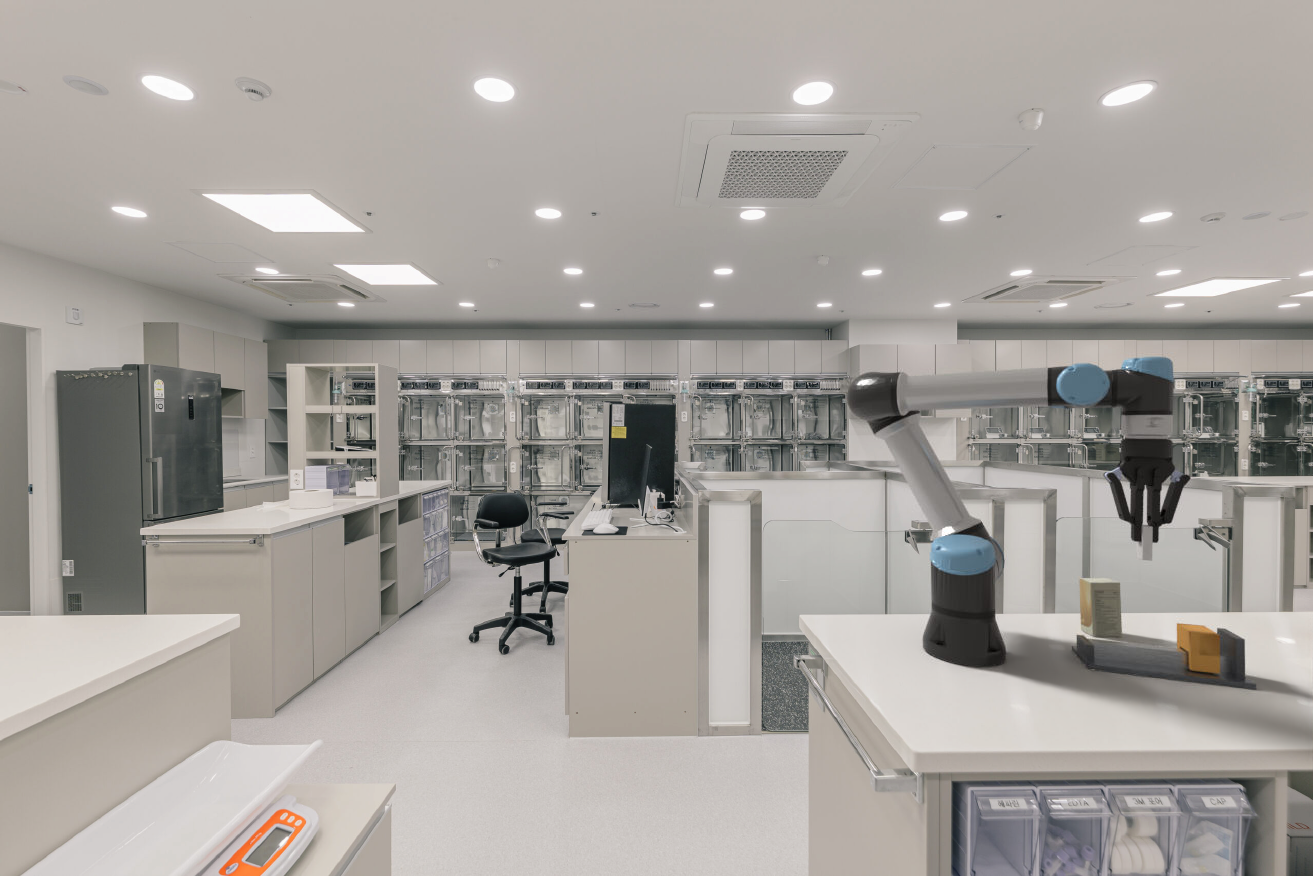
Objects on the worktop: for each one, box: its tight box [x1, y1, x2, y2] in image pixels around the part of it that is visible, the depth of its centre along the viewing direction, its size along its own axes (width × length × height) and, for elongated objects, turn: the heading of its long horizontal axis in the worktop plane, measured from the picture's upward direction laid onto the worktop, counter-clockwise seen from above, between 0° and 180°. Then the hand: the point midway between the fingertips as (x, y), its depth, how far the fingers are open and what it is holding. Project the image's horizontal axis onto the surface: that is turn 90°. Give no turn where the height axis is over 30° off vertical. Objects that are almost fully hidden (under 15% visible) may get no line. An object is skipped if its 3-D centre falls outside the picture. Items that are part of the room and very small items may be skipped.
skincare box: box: [1078, 577, 1123, 638], centre depth 124 cm, size 6×4×12 cm
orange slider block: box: [1176, 622, 1220, 674], centre depth 103 cm, size 4×5×7 cm
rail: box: [1071, 627, 1257, 690], centre depth 106 cm, size 24×10×8 cm, turn 68°
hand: (1144, 558), depth 107 cm, fingers closed
